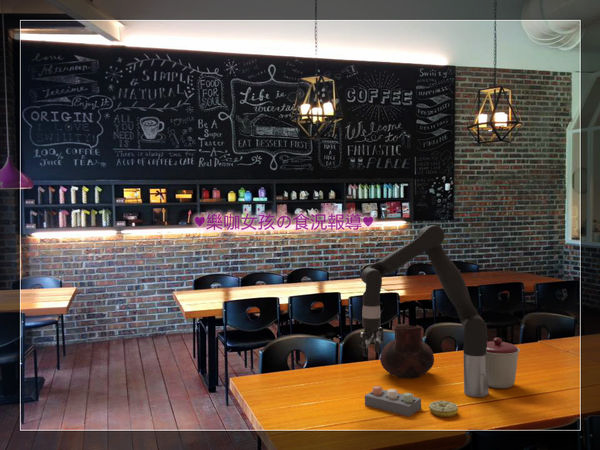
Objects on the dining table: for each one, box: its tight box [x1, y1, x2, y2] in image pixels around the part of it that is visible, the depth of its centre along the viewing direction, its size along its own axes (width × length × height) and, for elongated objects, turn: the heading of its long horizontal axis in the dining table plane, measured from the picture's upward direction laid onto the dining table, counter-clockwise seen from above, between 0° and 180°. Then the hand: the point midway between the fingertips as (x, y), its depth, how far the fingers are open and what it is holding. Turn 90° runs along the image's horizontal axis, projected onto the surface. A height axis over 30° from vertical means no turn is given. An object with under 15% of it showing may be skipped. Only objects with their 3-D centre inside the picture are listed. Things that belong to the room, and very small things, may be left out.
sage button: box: [402, 392, 414, 404], centre depth 207 cm, size 4×4×4 cm
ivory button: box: [387, 388, 399, 400], centre depth 211 cm, size 4×4×4 cm
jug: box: [380, 323, 435, 380], centre depth 249 cm, size 25×25×25 cm
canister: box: [486, 337, 521, 390], centre depth 233 cm, size 18×18×21 cm
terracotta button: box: [372, 385, 383, 396], centre depth 216 cm, size 4×4×4 cm
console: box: [364, 388, 422, 417], centre depth 212 cm, size 20×10×4 cm, turn 50°
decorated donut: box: [428, 400, 459, 418], centre depth 204 cm, size 10×11×4 cm
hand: (371, 354), depth 220 cm, fingers open, 8 cm apart
